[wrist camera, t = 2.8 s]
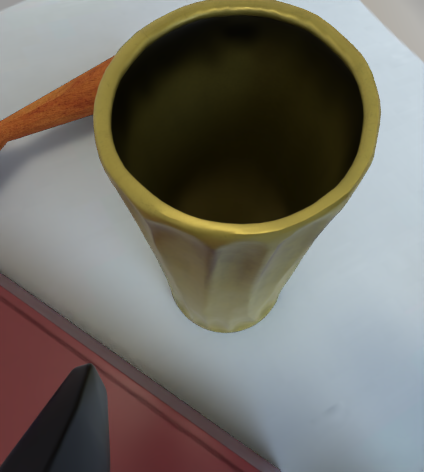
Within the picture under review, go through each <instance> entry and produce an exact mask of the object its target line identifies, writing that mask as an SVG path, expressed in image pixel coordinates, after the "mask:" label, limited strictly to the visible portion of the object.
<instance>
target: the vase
mask: <svg viewBox="0 0 424 472" xmlns="http://www.w3.org/2000/svg"><path fill="white" fill-rule="evenodd" d="M380 116H381V108H380V99H379V95H378V91H377V87H376V84H375V81H374V77H373V74H372V72H371V70H370V68H369V66H368V63H367V62H366V60H365V59H364V57H363V56H362V54H361V53H360V52H359V51H358V50H357V49H356V48H355V47H354V46H353V45H352V44H351V43H350V42H349V41H348V40H347V39H346V38H345V37H344V36H343V35H342V34H340V33H339V32H338V31H337V30H336V29H335V28H334V27H333V26H331V25H330V24H329V23H327V22H326V21H325V20H323V19H322V18H320V17H319V16H318V15H316V14H313V13H311V12H309V11H307V10H305V9H302V8H299V7H296V6H293V5H290V4H287V3H283V2H279V1H276V0H205V1H201V2H196V3H193V4H190V5H187V6H183V7H181V8H179V9H177V10H174V11H172V12H170V13H168V14H166V15H164V16H162V17H160V18H158V19H156V20H155V21H153V22H151V23H150V24H148V25H147V26H145V27H144V28H142V29H141V30H139V31H138V32H136V33H135V34H134V35H133V36H132V37H131V38H130V39H129V40H128V41H127V42H126V43H125V44H124V45H123V46H122V47H121V48H120V49H119V51H118V52H117V53H116V55H115V56H114V58H113V59H112V61H111V62H110V64H109V65H108V67H107V68H106V70H105V72H104V74H103V77H102V79H101V81H100V84H99V86H98V90H97V94H96V98H95V102H94V112H93V123H94V134H95V141H96V146H97V150H98V154H99V158H100V161H101V163H102V165H103V167H104V170H105V172H106V174H107V176H108V177H109V179H110V181H111V182H112V184H113V185H114V187H115V188H116V190H117V191H118V193H119V194H120V196H121V198H122V199H123V201H124V203H125V205H126V206H127V208H128V209H129V211H130V213H131V214H132V216H133V218H134V219H135V221H136V223H137V224H138V226H139V228H140V229H141V231H142V233H143V235H144V237H145V239H146V240H147V242H148V244H149V246H150V248H151V249H152V251H153V253H154V254H155V256H156V258H157V260H158V262H159V264H160V266H161V268H162V270H163V272H164V274H165V276H166V278H167V280H168V283H169V286H170V288H171V292H172V295H173V298H174V300H175V302H176V304H177V305H178V307H179V308H180V310H181V311H182V312H183V314H184V315H185V316H186V317H187V318H188V319H189V320H191V321H192V322H193V323H195V324H197V325H198V326H200V327H202V328H205V329H207V330H210V331H215V332H221V333H231V332H237V331H241V330H244V329H247V328H249V327H252V326H253V325H255V324H257V323H258V322H260V321H261V320H262V319H263V318H264V317H265V316H266V315H267V314H268V313H269V312H270V310H271V309H272V308H273V306H274V305H275V303H276V301H277V299H278V296H279V293H280V292H281V290H282V288H283V287H284V285H285V284H286V282H287V281H288V279H289V278H290V277H291V275H292V274H293V272H294V271H295V269H296V268H297V266H298V264H299V263H300V261H301V259H302V258H303V256H304V255H305V253H306V252H307V251H308V249H309V248H310V246H311V245H312V243H313V242H314V240H315V239H316V238H317V237H318V235H319V234H320V233H321V232H322V231H323V229H324V228H325V227H326V226H327V225H328V224H329V223H330V221H331V220H332V219H333V218H334V217H335V216H336V215H337V214H338V213H339V212H340V211H341V210H342V208H343V207H344V206H345V204H346V203H347V201H348V200H349V198H350V197H351V196H352V194H353V193H354V191H355V190H356V188H357V187H358V185H359V183H360V182H361V180H362V179H363V177H364V175H365V174H366V172H367V170H368V169H369V167H370V165H371V163H372V161H373V157H374V153H375V148H376V143H377V137H378V132H379V126H380Z"/></svg>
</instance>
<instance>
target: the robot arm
mask: <svg viewBox="0 0 424 472" xmlns="http://www.w3.org/2000/svg"><path fill="white" fill-rule="evenodd" d="M0 472H110V440H109V420H108V400H107V392H106V388H105V386H104V384H103V382H102V380H101V378H100V376H99V374H98V372H97V370H96V368H95V366H94V365H93V364H91V363H88V364H85V365H81V366H78V367H75V368H74V369H72V371H71V372H70V373H69V375H68V376H67V377H66V379H65V380H64V381H63V383H62V384H61V385H60V387H59V388H58V389H57V391H56V392H55V393H54V395H53V396H52V397H51V399H50V400H49V401H48V403H47V404H46V405H45V407H44V408H43V409H42V411H41V412H40V413H39V415H38V416H37V417H36V419H35V420H34V421H33V423H32V424H31V425H30V427H29V428H28V429H27V431H26V432H25V433H24V435H23V436H22V438H21V439H20V440H19V442H18V443H17V444H16V446H15V447H14V448H13V450H12V451H11V452H10V454H9V455H8V456H7V458H6V459H5V460H4V462H3V463H2V464H1V466H0Z"/></svg>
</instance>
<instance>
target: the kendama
mask: <svg viewBox="0 0 424 472" xmlns="http://www.w3.org/2000/svg"><path fill="white" fill-rule="evenodd" d="M113 58H114V56H113V57H111V58H110V59H108V60H106V61H104V62H103V63H101V64H99V65H97V66H96V67H94V68H92V69H90V70H89V71H87V72H85V73H84V74H82V75H80V76H78V77H77V78H75V79H73V80H71V81H70V82H68V83H66V84H64V85H63V86H61V87H59V88H57V89H56V90H54V91H52V92H50V93H49V94H47V95H45V96H43V97H42V98H40V99H38V100H36V101H35V102H33V103H31V104H29V105H28V106H26V107H24V108H22V109H21V110H19V111H17V112H15V113H14V114H12V115H10V116H9V117H7V118H5V119H3V120H2V121H0V150H1V149H2V148H3V147H4V145H5V144H6V143H7V142H8V141H11V140H14V139H18V138H21V137H24V136H27V135H30V134H33V133H36V132H40V131H43V130H46V129H49V128H52V127H55V126H59V125H62V124H65V123H68V122H71V121H74V120H77V119H81V118H84V117H87V116H90V115H93V112H94V102H95V98H96V94H97V90H98V86H99V84H100V81H101V79H102V77H103V74H104V72H105V70H106V68H107V67H108V65H109V64H110V62H111V61H112V59H113Z"/></svg>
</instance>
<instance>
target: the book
mask: <svg viewBox="0 0 424 472" xmlns="http://www.w3.org/2000/svg"><path fill="white" fill-rule="evenodd" d="M88 363H91V364H93V365H94V366H95V368H96V370H97V372H98V374H99V376H100V378H101V380H102V382H103V384H104V386H105V388H106V392H107V400H108V420H109V440H110V472H281V471H280V470H279V469H278V468H276V467H275V466H274V465H272V464H271V463H269V462H268V461H267V460H265V459H264V458H262V457H261V456H259V455H258V454H257V453H255V452H254V451H252V450H251V449H250V448H248V447H247V446H245V445H244V444H242V443H241V442H240V441H238V440H237V439H235V438H234V437H233V436H231V435H230V434H228V433H227V432H225V431H224V430H223V429H221V428H220V427H218V426H217V425H216V424H214V423H213V422H211V421H210V420H208V419H207V418H206V417H204V416H203V415H201V414H200V413H199V412H197V411H196V410H194V409H193V408H191V407H190V406H189V405H187V404H186V403H184V402H183V401H182V400H180V399H179V398H177V397H176V396H174V395H173V394H172V393H170V392H169V391H167V390H166V389H165V388H163V387H162V386H160V385H159V384H157V383H156V382H155V381H153V380H152V379H150V378H149V377H148V376H146V375H145V374H143V373H142V372H140V371H139V370H138V369H136V368H135V367H133V366H132V365H131V364H129V363H128V362H126V361H125V360H123V359H122V358H121V357H119V356H118V355H116V354H115V353H114V352H112V351H111V350H109V349H108V348H106V347H105V346H104V345H102V344H101V343H99V342H98V341H97V340H95V339H94V338H92V337H91V336H89V335H88V334H87V333H85V332H84V331H82V330H81V329H80V328H78V327H77V326H75V325H74V324H72V323H71V322H70V321H68V320H67V319H65V318H64V317H63V316H61V315H60V314H58V313H57V312H55V311H54V310H53V309H51V308H50V307H48V306H47V305H46V304H44V303H43V302H41V301H40V300H38V299H37V298H36V297H34V296H33V295H31V294H30V293H29V292H27V291H26V290H24V289H23V288H21V287H20V286H19V285H17V284H16V283H14V282H13V281H12V280H10V279H9V278H7V277H6V276H5V275H3V274H2V273H0V466H1V464H2V463H3V462H4V460H5V459H6V458H7V456H8V455H9V454H10V452H11V451H12V450H13V448H14V447H15V446H16V444H17V443H18V442H19V440H20V439H21V438H22V436H23V435H24V433H25V432H26V431H27V429H28V428H29V427H30V425H31V424H32V423H33V421H34V420H35V419H36V417H37V416H38V415H39V413H40V412H41V411H42V409H43V408H44V407H45V405H46V404H47V403H48V401H49V400H50V399H51V397H52V396H53V395H54V393H55V392H56V391H57V389H58V388H59V387H60V385H61V384H62V383H63V381H64V380H65V379H66V377H67V376H68V375H69V373H70V372H71V371H72V369H74V368H75V367H78V366H81V365H85V364H88Z"/></svg>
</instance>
